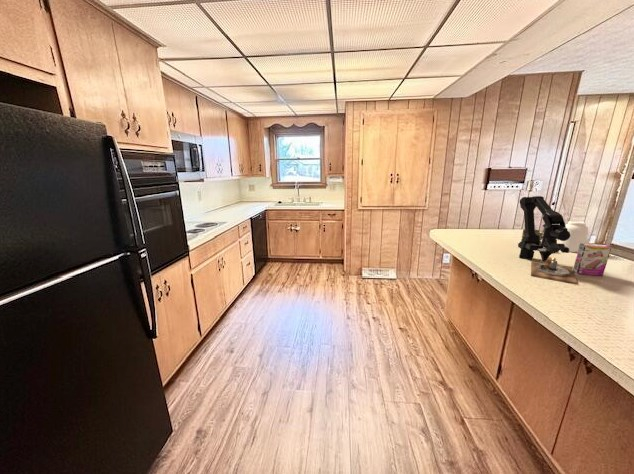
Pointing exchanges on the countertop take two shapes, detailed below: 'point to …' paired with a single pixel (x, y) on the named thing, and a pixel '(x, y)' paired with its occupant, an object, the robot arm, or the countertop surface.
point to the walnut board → (568, 278)
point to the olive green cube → (536, 234)
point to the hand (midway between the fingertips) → (543, 261)
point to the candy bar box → (591, 259)
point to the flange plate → (557, 272)
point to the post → (553, 265)
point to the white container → (575, 235)
